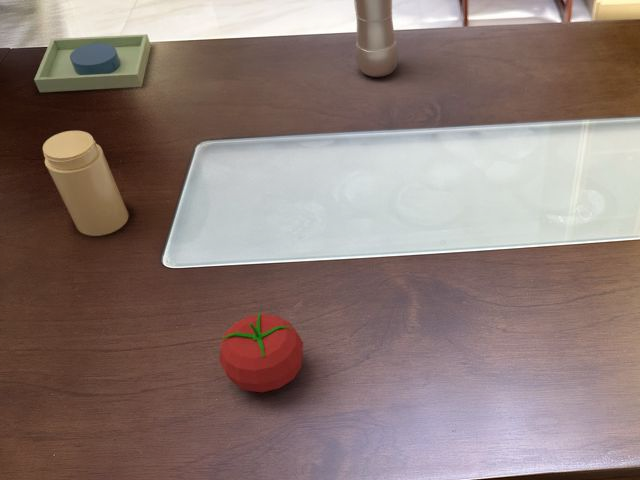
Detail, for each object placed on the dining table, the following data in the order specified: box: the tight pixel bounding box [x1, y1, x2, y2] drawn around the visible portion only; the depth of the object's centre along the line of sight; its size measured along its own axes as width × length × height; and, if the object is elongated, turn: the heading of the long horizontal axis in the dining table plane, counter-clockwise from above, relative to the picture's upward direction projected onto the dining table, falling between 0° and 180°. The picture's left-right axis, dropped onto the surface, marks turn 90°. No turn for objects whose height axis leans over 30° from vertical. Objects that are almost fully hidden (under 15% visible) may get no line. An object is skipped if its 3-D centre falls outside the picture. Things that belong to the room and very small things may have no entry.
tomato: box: [219, 310, 304, 393], centre depth 70 cm, size 8×8×8 cm
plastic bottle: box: [353, 0, 399, 78], centre depth 104 cm, size 6×7×20 cm
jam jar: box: [42, 130, 130, 237], centre depth 83 cm, size 6×6×11 cm
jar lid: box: [70, 43, 120, 75], centre depth 108 cm, size 7×7×2 cm
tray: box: [33, 34, 152, 93], centre depth 109 cm, size 14×12×2 cm
